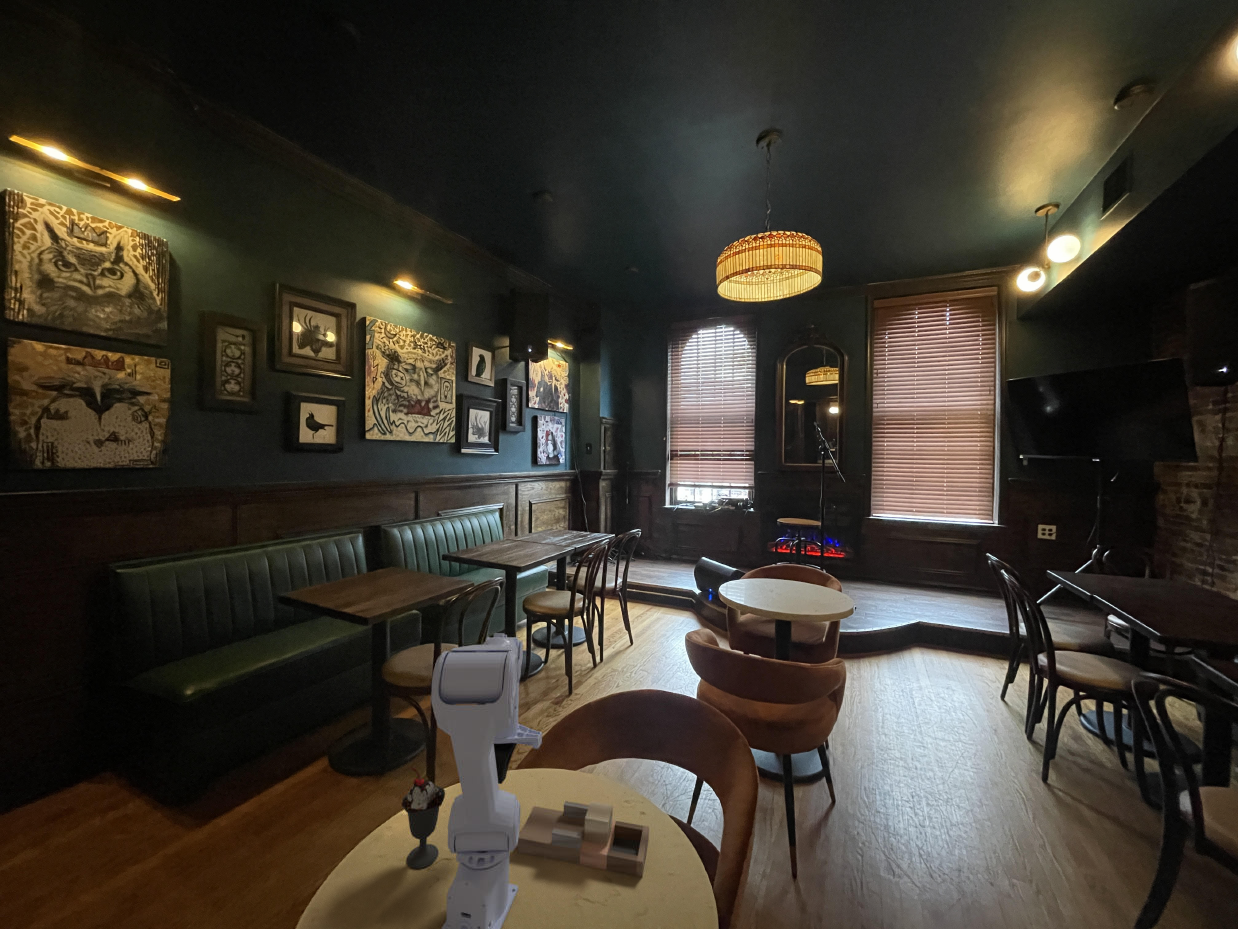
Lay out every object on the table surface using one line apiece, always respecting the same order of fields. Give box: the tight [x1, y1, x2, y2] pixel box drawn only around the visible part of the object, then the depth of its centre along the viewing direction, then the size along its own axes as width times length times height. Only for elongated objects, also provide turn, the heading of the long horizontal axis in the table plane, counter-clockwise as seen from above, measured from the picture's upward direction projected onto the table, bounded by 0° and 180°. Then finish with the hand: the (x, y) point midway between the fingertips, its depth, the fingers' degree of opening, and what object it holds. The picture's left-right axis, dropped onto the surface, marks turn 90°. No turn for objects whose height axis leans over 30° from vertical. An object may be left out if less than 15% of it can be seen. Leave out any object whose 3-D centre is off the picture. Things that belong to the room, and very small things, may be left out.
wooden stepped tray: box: [517, 800, 650, 878], centre depth 85 cm, size 8×22×4 cm, turn 79°
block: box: [584, 801, 614, 845], centre depth 84 cm, size 4×4×4 cm
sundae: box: [401, 767, 446, 870], centre depth 81 cm, size 7×7×15 cm
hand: (500, 779), depth 87 cm, fingers closed
